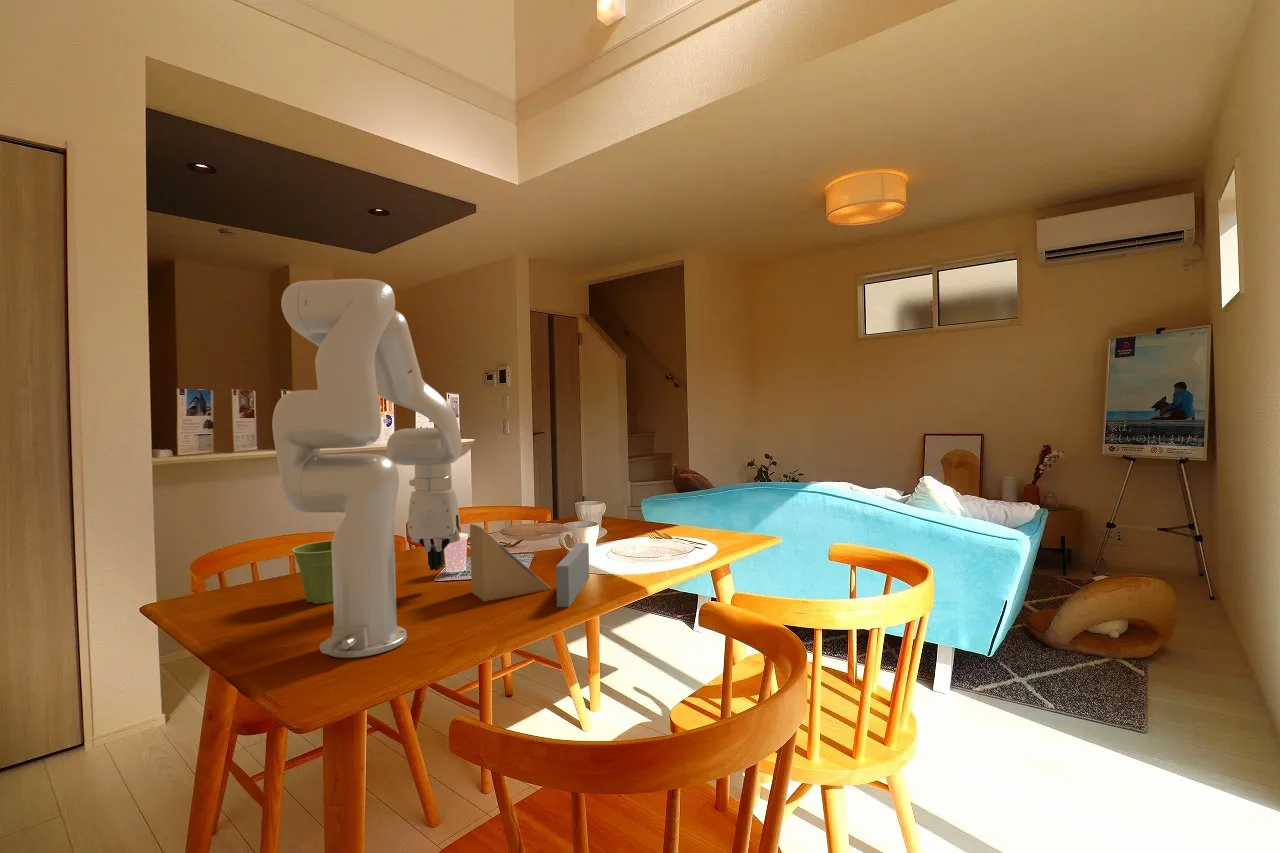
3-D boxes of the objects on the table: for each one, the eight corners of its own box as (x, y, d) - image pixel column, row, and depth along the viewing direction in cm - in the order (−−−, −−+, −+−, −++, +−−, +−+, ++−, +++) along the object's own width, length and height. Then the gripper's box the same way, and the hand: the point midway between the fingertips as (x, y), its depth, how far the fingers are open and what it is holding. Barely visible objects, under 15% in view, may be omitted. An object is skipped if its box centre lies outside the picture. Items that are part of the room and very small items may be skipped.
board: (569, 607, 122) (568, 566, 121) (557, 607, 122) (556, 566, 122) (589, 577, 143) (588, 543, 143) (579, 577, 144) (578, 543, 144)
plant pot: (287, 599, 131) (285, 546, 131) (346, 588, 139) (345, 538, 139) (301, 612, 122) (299, 554, 122) (364, 599, 130) (362, 545, 130)
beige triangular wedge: (553, 589, 135) (552, 520, 135) (484, 602, 127) (482, 528, 126) (537, 581, 142) (536, 515, 142) (471, 592, 134) (469, 523, 134)
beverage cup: (441, 570, 153) (439, 514, 153) (466, 567, 156) (465, 511, 156) (444, 576, 148) (443, 517, 147) (471, 573, 150) (469, 515, 150)
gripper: (392, 487, 132) (395, 573, 133) (460, 486, 131) (463, 573, 132) (408, 482, 140) (411, 564, 140) (473, 482, 138) (475, 564, 139)
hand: (436, 568), depth 136 cm, fingers closed
